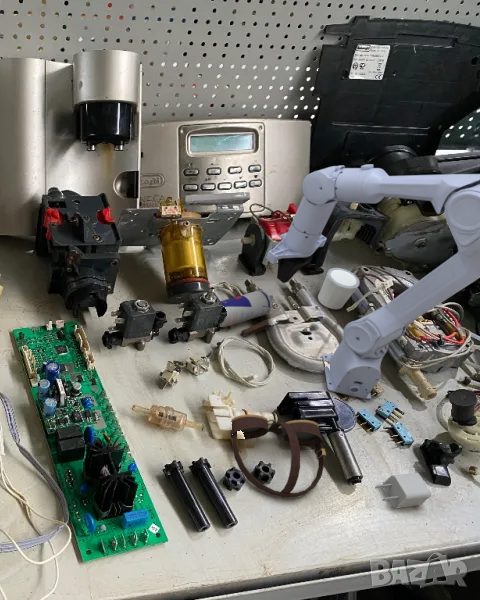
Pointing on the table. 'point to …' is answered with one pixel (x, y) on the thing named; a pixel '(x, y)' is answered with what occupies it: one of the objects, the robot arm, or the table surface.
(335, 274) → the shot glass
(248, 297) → the energy drink
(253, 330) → the cradle
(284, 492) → the goggles
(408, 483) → the usb wall charger
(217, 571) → the table surface
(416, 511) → the table surface
